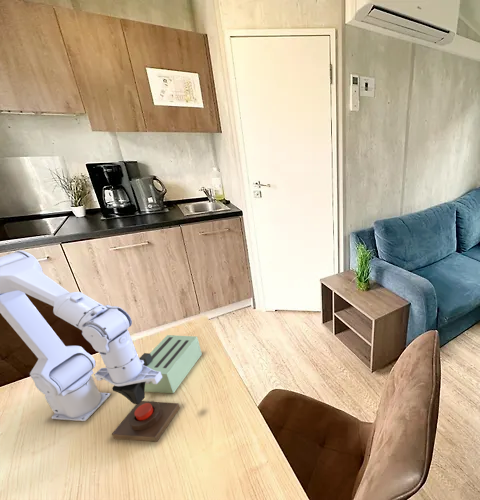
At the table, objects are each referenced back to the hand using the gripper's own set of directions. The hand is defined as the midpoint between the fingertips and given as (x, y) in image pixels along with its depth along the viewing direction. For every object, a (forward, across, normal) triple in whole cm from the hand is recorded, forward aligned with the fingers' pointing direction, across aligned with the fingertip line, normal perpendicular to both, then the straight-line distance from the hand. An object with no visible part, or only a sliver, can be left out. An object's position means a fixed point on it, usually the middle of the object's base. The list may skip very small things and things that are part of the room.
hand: (139, 400), depth 69 cm
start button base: (+8, 0, 0) cm, 8 cm away
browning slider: (0, +7, -12) cm, 14 cm away
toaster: (+8, +4, -16) cm, 18 cm away
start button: (+5, 0, 0) cm, 5 cm away
